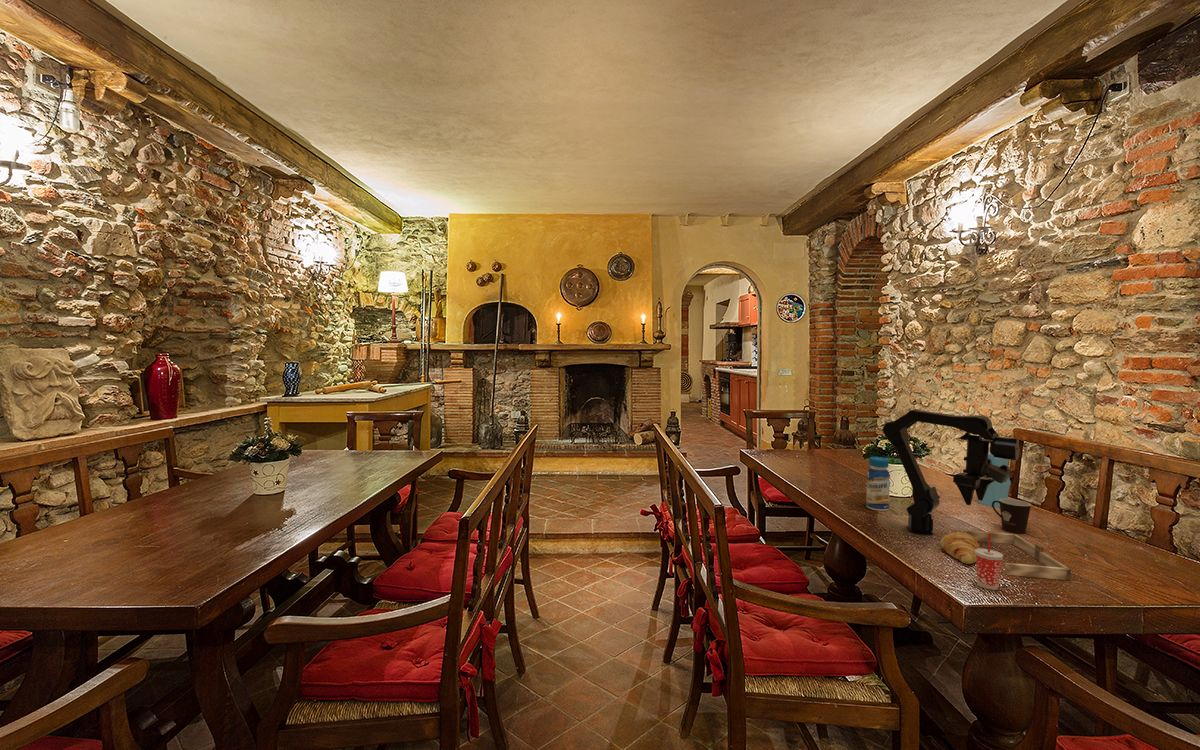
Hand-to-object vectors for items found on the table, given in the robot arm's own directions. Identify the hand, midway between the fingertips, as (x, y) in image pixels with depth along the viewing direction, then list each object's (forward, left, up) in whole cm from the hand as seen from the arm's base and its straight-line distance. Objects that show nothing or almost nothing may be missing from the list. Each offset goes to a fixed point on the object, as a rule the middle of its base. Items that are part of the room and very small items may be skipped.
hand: (974, 502), depth 169 cm
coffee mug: (+19, +19, -14) cm, 30 cm away
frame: (+6, -10, -14) cm, 18 cm away
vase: (+27, +51, -14) cm, 59 cm away
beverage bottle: (-20, +34, -14) cm, 42 cm away
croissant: (-8, -10, -14) cm, 19 cm away
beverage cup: (-10, -33, -14) cm, 37 cm away
